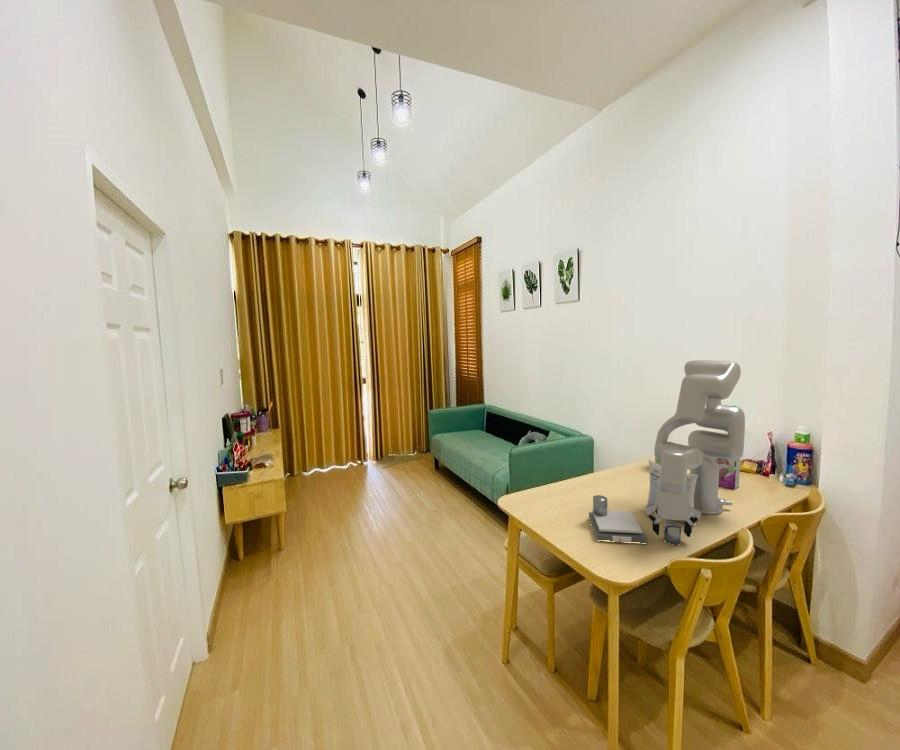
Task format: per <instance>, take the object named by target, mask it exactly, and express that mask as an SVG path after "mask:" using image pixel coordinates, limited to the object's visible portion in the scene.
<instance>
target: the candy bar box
mask: <svg viewBox="0 0 900 750" xmlns="http://www.w3.org/2000/svg"><path fill="white" fill-rule="evenodd" d="M714 459H715V460H716V462H717V463H718V466H719V487H723V488H726V489H730V490H734V491H735V490H736V489H738V488H739V487H740V469H741V458H740V459H739V460H728V459H723V458H717V457H714Z"/></svg>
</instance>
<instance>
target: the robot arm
mask: <svg viewBox="0 0 900 750" xmlns="http://www.w3.org/2000/svg"><path fill="white" fill-rule="evenodd" d="M683 369H684V374H685V376H684V377H683V378H682V380H681V385H680V389H679V393H678V400H677V404H676V409H675V410H676V412H675V414H674V415H673V416H671V417H669V418H668V419H667V420H666V421H665V422H664V423H663V424H662V425H661V426H660V428H659V430H658V432H657V434H656V439H655V443H654V450H653V451H654V458H655V457H656V459H657V460H658V461H661V481H660V487H658V488H657V491H656V496H655V503H654V505H652V506H650V507H649V506H647V507H645V508H644V512H645V513H646V516H647V517H648V519H649V520H651V521H652V527H651V528H652V531H653V532H654V533H655V535H657V536H659V535H660V524H659V522H660V521H662V520H666V521H684V526H683V527H684V528H683V532H684V535H686V537H687V538H691V534H692V533H693V527H694V526H693V525H694V523H695V524H696V523H697V522H698V521H699V519H700V518H701V515H709V516H711V515H712V516H715V515H719V514H722V513H723V506H732V505H733V502H732V500H729V499H725V498H724V497H719V487H720V486H719V466H718V463H717V462H716V460H715V459H714V457H717V458H723V459H728V460H739V459H740V460H741V458H742V457H743V455H744V449H745V433H746V432H745V428H746V414H745V411H743V409H742V408H741V407H738V406H735V405H728V404H727V405H725V404H722V401H723V400H726V399H728V398H729V397H730V396H731V394H732V393H733V391H734V389H735V387H736V386H737V384H738V382H739V380H740V378H741V374H742V370H741V366H740V365H739V363H738V362H736V361H734V360H733V361H732V360H710V359H704V360H703V359H695V360H694V359H693V360H689V361H687V362H686V363H685V364H684V367H683ZM691 424H696V425H697V426H698V427H701V428H702V427H703V428H707V429H711V430H712V429H713V430H720V431H726V432H727V433H723V432H716V431H709V430H704V429H703V430H702V429H699V430H698V429H697V430H692V431H691V432H690V433H689V435H688V437H687V444H680V443H675V442H673V443H671V442H672V441H668V440H669V436H670V434H671V433H672V432H674V430H677V429H678V428H681V427H683V426H686V425H691ZM688 470H689V474H698V477H697V480H696V484H695V492H694V508H692V507H690V499H689V494H688V491H687V488H688V487H691V484H690V483H687V474H688ZM652 512H654V515H653V514H652ZM691 512H692V513H694V516H692V517H691V518H690V516H691ZM685 520H686V521H685Z"/></svg>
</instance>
